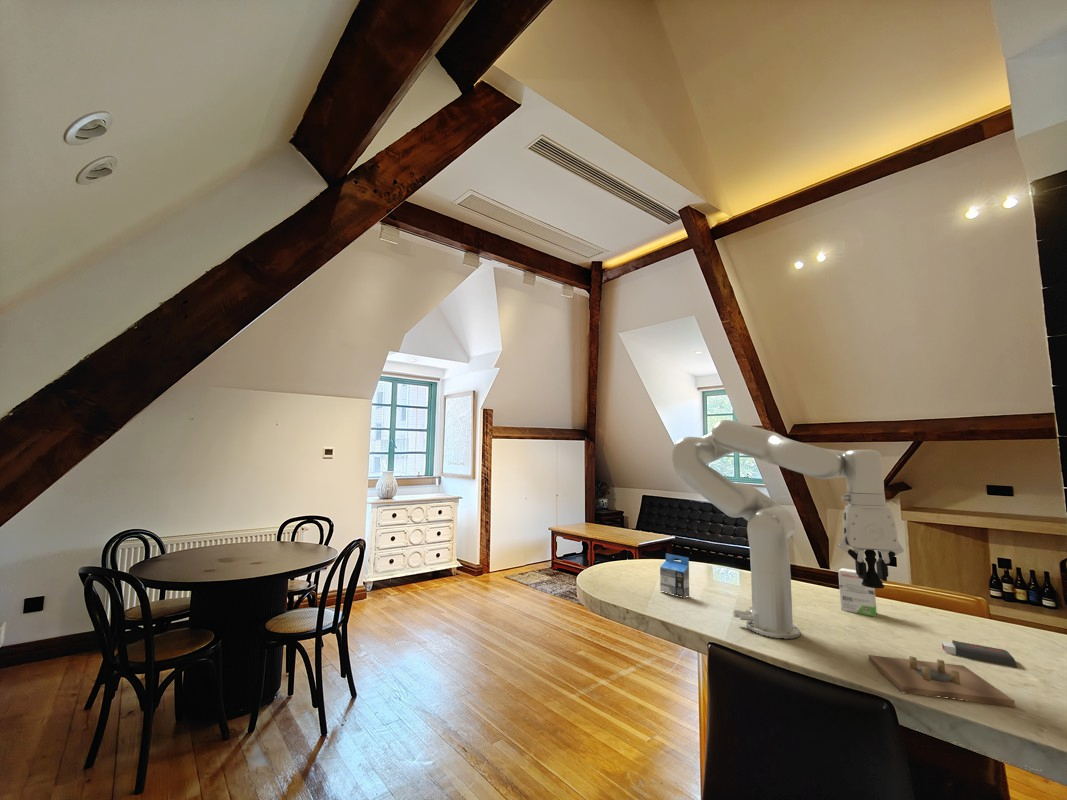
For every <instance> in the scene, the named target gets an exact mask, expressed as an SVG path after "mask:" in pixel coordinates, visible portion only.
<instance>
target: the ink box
mask: <svg viewBox="0 0 1067 800" xmlns="http://www.w3.org/2000/svg"><path fill="white" fill-rule="evenodd" d="M862 582H863V579H861V578H859V576H858V575H857V573H856V569H849V568H843V567H841V568H840V569H838V586H839V602H840V610H841V611H844V612H850V613H854V614H859V615H866V616H870V617H876V615H877V612H878V611H877V599H876V590H875V589H876V588H870V587H866V586H863V585H862V584H861V583H862Z"/></svg>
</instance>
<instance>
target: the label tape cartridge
mask: <svg viewBox="0 0 1067 800" xmlns="http://www.w3.org/2000/svg"><path fill="white" fill-rule="evenodd" d="M676 559H677V560H676ZM689 559H690V558H689V557H687V556H681V555H676V554H671V553H667V552H665V561H664V562H663V563H662V565H661V566H660V567H659V583H660V584H659V585H660V587H659V589H660V591H664V592H667V593H671V594H674V595H678V596H682V597H686V596H689V597H690V560H689ZM679 560H680V561H679Z"/></svg>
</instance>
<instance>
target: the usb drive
mask: <svg viewBox="0 0 1067 800" xmlns="http://www.w3.org/2000/svg"><path fill="white" fill-rule="evenodd" d="M942 648H943V649H942ZM941 649H942V650H943V651H944V653H945V654H947V655H948V654H949V655H953V654H954V655H953V656H957V657H959V658H964V659H970V660H973V661H974V660H975V661H978V662H979V661H980V662H984V663H985V662H986V663H990V664H994V665H995V664H996V665H1001V666H1005V665H1006V667H1011V666H1012V667H1011V668H1018V667H1017V662H1016V660H1015V658H1014V657H1013V656H1012V654H1010V652H1009V651H1008V650H1006V649H1002V648H997V647H992V646H991V647H990V646H986V645H985V646H984V645H980V644H973V643H969V642H962V641H958V640H954V639H953V640H952V641H951V642H947V641H941Z"/></svg>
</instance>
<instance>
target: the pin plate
mask: <svg viewBox="0 0 1067 800" xmlns="http://www.w3.org/2000/svg"><path fill="white" fill-rule="evenodd" d="M908 657H909V658H899V657H890V656H883V655H882V656H881V655H872V654H868V662H870V664H872V666H874V667H875V668H876V669H877V670H878V671H879V673H881V674H882V675H883V676H885V678H887V680H889V682H891V684H892V685H894V686H895V687H896V688H897V690H899V691H900V690H901V691H902V692H906V693H905V694H908V693H912V694H911V695H916V694H919V695H918V696H923V695H928V696H927V697H931V696H940V697H948V698H955V699H963V700H968V701H967V702H970V701H972V702H971V703H979V704H984V705H993V706H1001V705H1002V707H1008V706H1009V708H1015V707H1016V704H1015V700H1014V699H1013V698H1011V697H1010V696H1008V695H1007V694H1005V693H1004V692H1003V691H1001V690H1000V689H998V688H997V687H995V686H994V685H993V684H991V683H990V682H989V681H987V680H985V679H983V678H982V677H981V676H979V675H978V674H976V673H975V672H974V671H972V670H971V669H969V668H968V667H966V666H965V665H962V664H954V663H953V664H952V663H945V661H944V660H943V659H936V662H934V661H928V660H926V661H925V660H918V659H917V657H915V656H910V655H909V656H908ZM901 691H900V692H901ZM902 692H901V693H902Z"/></svg>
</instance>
